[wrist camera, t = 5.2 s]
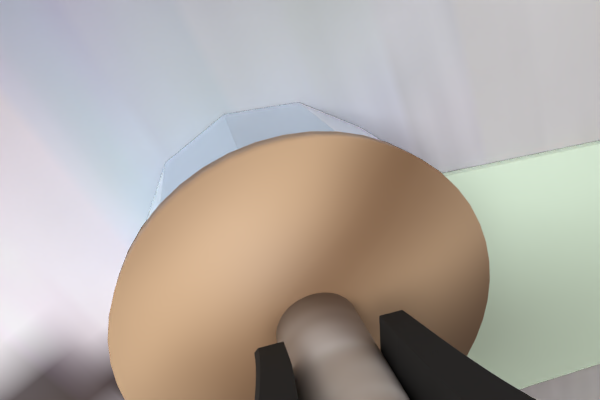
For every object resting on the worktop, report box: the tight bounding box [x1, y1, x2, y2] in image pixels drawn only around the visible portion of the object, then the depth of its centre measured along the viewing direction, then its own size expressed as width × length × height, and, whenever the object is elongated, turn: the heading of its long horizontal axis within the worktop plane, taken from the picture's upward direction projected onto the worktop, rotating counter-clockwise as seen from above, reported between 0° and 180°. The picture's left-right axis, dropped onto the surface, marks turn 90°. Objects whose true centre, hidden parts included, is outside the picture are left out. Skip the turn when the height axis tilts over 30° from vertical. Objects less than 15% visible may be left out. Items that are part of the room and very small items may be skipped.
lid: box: [108, 131, 490, 400], centre depth 10 cm, size 11×11×5 cm
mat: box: [442, 141, 600, 389], centre depth 21 cm, size 14×14×1 cm
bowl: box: [146, 102, 379, 221], centre depth 15 cm, size 10×10×4 cm
